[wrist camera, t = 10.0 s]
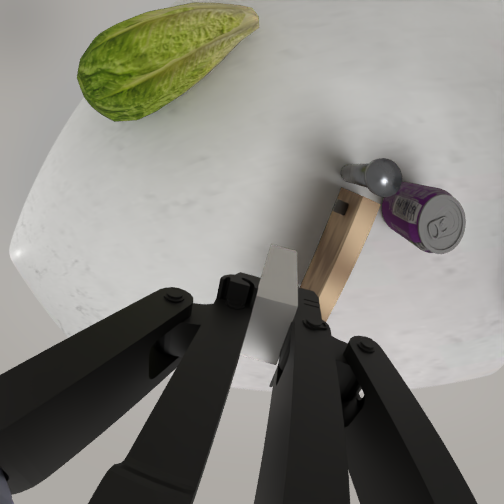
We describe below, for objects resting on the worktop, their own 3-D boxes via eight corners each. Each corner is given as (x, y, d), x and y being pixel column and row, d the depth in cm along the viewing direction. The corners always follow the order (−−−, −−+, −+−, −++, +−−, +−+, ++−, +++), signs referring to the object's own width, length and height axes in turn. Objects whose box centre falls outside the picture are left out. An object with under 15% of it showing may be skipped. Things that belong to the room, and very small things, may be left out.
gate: (310, 292, 39) (315, 340, 27) (291, 285, 39) (289, 332, 28) (353, 192, 34) (380, 204, 23) (333, 183, 34) (352, 191, 23)
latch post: (364, 167, 34) (406, 168, 20) (356, 188, 35) (394, 203, 21) (342, 157, 34) (374, 152, 20) (334, 180, 35) (361, 187, 21)
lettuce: (279, 82, 33) (280, 17, 19) (119, 144, 35) (60, 112, 21) (246, 18, 32) (236, -42, 19) (108, 73, 35) (64, 34, 21)
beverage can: (392, 240, 36) (428, 270, 25) (371, 196, 35) (404, 209, 23) (430, 217, 34) (475, 238, 23) (411, 173, 33) (455, 178, 21)
